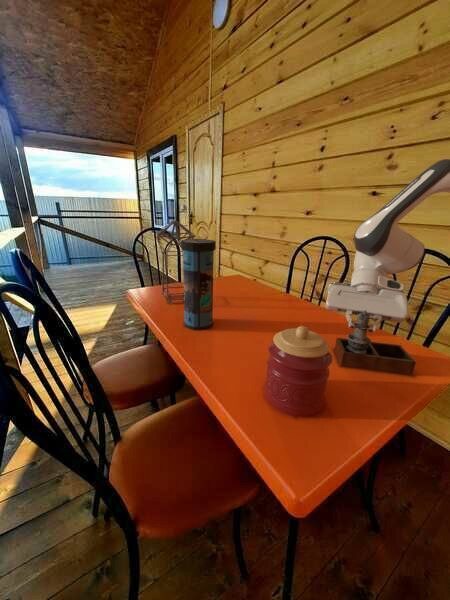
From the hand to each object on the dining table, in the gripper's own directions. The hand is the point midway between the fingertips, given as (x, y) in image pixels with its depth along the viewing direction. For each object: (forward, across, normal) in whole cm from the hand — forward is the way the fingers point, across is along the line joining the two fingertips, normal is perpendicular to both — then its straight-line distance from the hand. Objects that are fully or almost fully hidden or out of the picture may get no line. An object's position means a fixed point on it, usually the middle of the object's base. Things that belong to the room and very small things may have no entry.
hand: (361, 329), depth 69 cm
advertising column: (+7, -51, +8) cm, 52 cm away
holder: (+6, +4, +8) cm, 11 cm away
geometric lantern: (-5, -72, +20) cm, 75 cm away
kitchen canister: (+24, -13, -9) cm, 28 cm away
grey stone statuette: (+4, 0, +5) cm, 7 cm away
